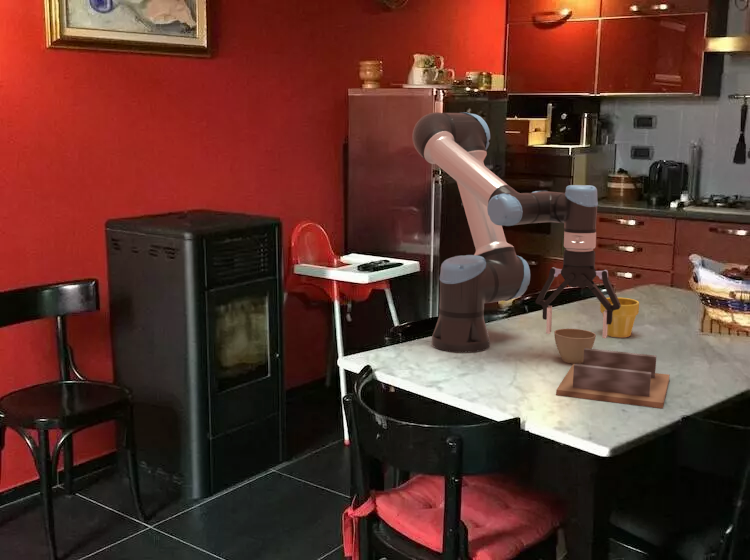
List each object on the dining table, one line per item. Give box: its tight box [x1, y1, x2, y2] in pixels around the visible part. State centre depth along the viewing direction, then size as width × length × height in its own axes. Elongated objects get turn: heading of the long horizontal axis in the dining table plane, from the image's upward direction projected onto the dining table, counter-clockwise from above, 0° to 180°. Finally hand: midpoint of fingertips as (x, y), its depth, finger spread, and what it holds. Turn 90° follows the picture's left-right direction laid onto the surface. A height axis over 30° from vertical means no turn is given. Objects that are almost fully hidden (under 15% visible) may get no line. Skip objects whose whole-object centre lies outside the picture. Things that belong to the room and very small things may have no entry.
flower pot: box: [553, 328, 597, 365], centre depth 212 cm, size 10×10×7 cm
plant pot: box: [599, 296, 640, 339], centre depth 238 cm, size 10×10×10 cm
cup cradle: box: [555, 348, 670, 409], centre depth 191 cm, size 22×22×6 cm
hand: (576, 334), depth 211 cm, fingers open, 13 cm apart
